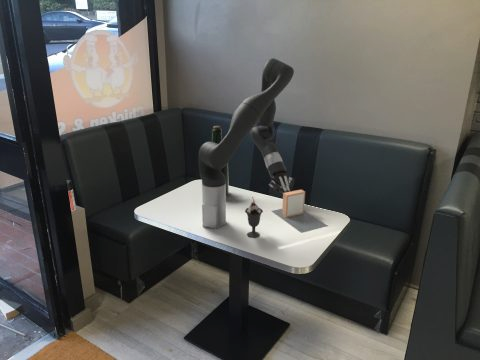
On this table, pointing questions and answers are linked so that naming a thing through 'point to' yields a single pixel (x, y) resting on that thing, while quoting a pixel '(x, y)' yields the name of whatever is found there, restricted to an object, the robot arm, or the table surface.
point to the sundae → (253, 218)
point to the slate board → (301, 221)
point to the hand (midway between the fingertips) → (289, 200)
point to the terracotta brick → (293, 203)
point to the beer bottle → (217, 139)
